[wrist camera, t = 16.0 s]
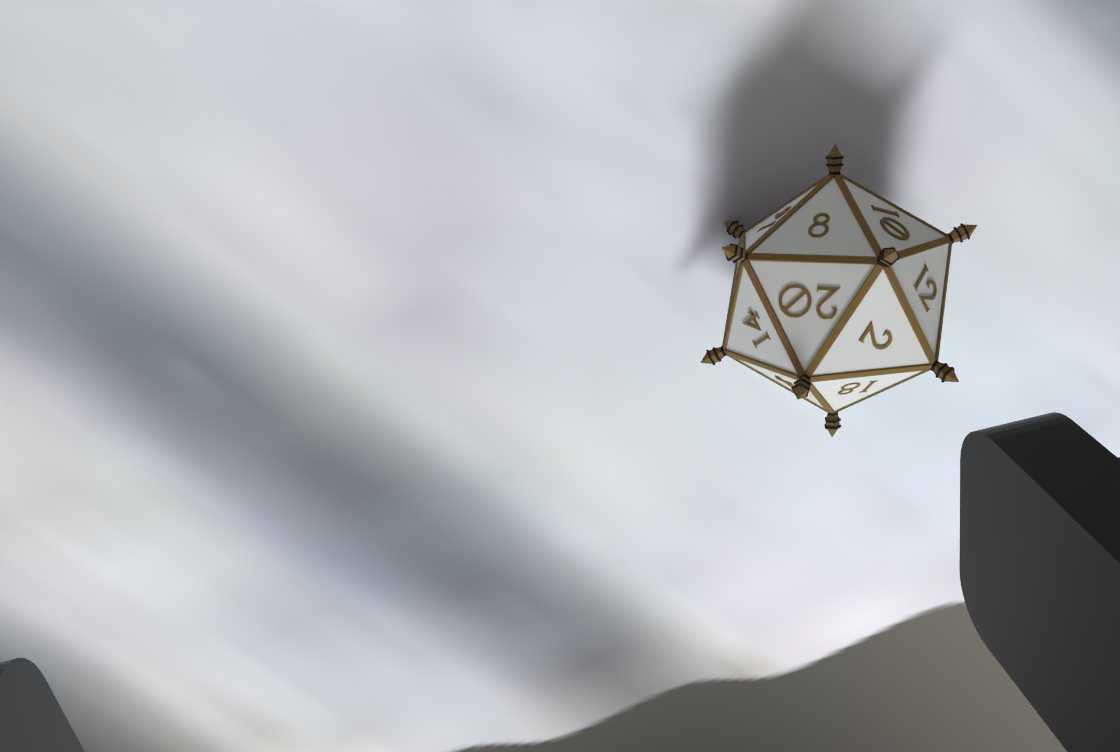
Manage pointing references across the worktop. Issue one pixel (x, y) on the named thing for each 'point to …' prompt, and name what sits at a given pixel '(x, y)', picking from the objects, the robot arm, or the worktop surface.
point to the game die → (838, 295)
